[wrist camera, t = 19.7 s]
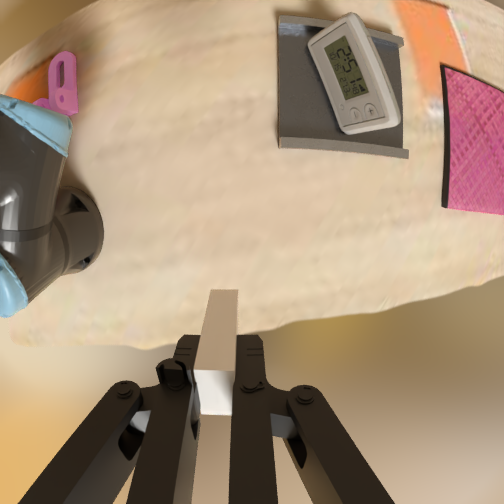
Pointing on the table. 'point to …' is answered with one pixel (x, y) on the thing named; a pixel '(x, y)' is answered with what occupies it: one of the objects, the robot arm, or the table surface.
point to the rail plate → (317, 100)
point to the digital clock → (354, 76)
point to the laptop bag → (472, 144)
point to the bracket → (65, 96)
